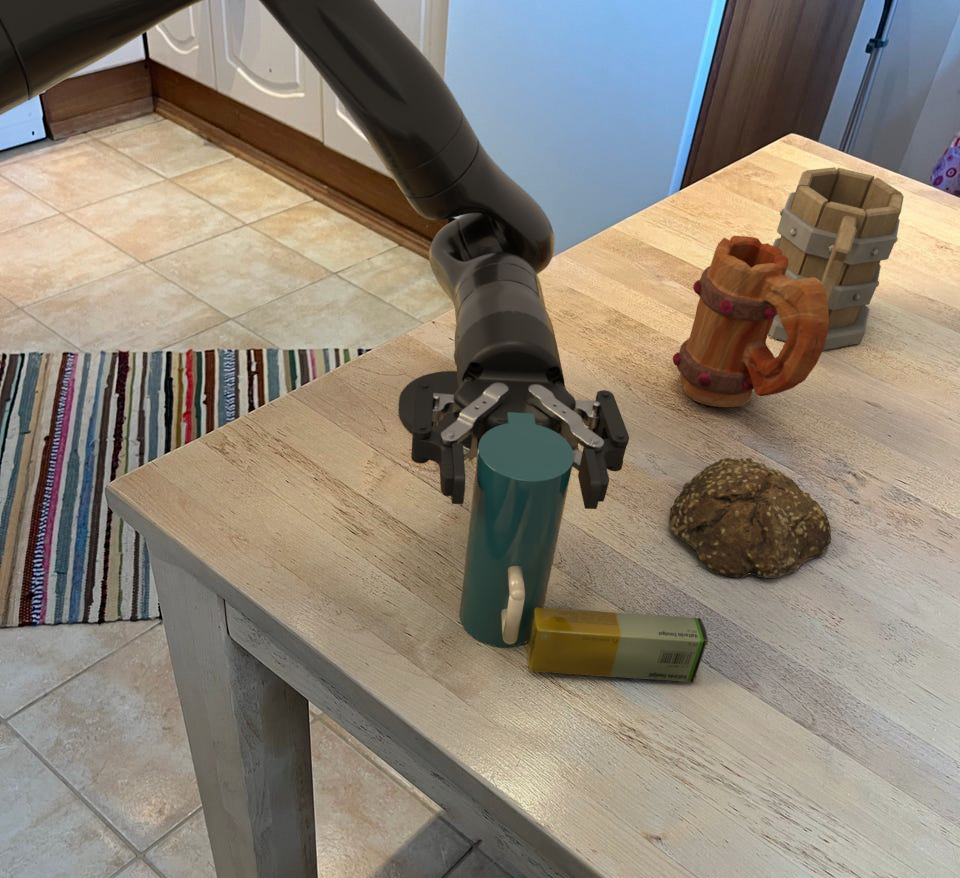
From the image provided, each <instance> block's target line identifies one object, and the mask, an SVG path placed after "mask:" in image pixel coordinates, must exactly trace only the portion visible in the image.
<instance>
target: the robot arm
mask: <svg viewBox="0 0 960 878" xmlns="http://www.w3.org/2000/svg"><path fill="white" fill-rule="evenodd" d="M203 1H204V0H0V116H2V115H4V114H6V113H7V112H9V111H11V110H14V109H15V108H18V107H19V106H21V105H23V104H24V103H26V102H27V101H31V100H33V99H34V98H36V97H38V96H40V95H41V94H43V93H44V92H46V91H47V90H49V89H51V88H53V87H54V86H56V85H58V84H59V83H62V82H63V81H64V80H67V79H68V78H70V77H72V76H74V75H76V74H77V73H79V72H80V71H82V70H84V69H86V68H88V67H90V66H91V65H94V64H95V63H97V62H98V61H100V60H103V59H104V58H105V57H107V56H109V55H111V54H112V53H114V52H116V51H117V50H119V49H121V48H122V47H124V46H125V45H127V44H129V43H131V42H132V41H134V40H135V39H137V38H139V37H140V36H142V35H143V34H145V33H146V32H148V31H150V30H151V29H153V28H154V27H156V26H157V25H159V24H160V23H162V22H163V21H165V20H167V19H169V18H171V17H172V16H174V15H176V14H178V13H180V12H181V11H184V10H186V9H188V8H190V7H192V6H194V5H196V4H198V3H201V2H203ZM258 1H259V2H260V3H261V5H262V6H263V7H264V8H265V10H266V11H268V13H269V14H270V15H271V16H272V17H273V18H274V19H275V21H276V22H277V23H278V25H279V26H280V27H281V28H282V29H283V30H284V32H285V33H286V34H287V35H288V36H289V38H290V39H291V41H293V42H294V44H295V45H296V47H297V48H298V49H299V50H300V51H301V52H302V54H303V55H304V56H305V57H306V58H307V60H308V61H309V62H310V63H311V65H312V66H313V67H314V69H315V70H316V71H317V73H318V74H319V75H320V76H321V78H322V79H323V80H324V82H325V83H326V84H327V86H328V87H329V88H330V90H331V91H332V92H333V93H334V95H335V96H336V98H337V99H338V100H339V102H340V103H341V104H342V106H343V107H344V108H345V110H346V111H347V113H348V114H349V115H350V117H351V118H352V119H353V121H354V122H355V125H357V127H358V128H359V130H360V131H361V133H362V134H363V136H364V137H365V138H366V140H367V142H368V143H369V144H370V147H372V149H373V151H374V152H375V153H376V155H377V157H378V159H379V160H380V162H381V163H382V164H383V166H384V167H385V169H386V171H387V172H388V173H389V175H390V176H391V178H392V180H393V181H394V182H395V184H396V185H397V186H398V189H399V190H400V191H401V193H402V194H403V196H404V197H405V199H406V200H407V202H408V203H409V205H410V206H411V207H412V208H413V209H414V210H415V212H416V213H417V214H418V215H420V216H421V217H423V218H424V219H426V220H431V221H444V220H449V219H453V218H456V219H454V220H452V221H450V222H449V223H447V224H445V225H444V226H443V227H441V228H440V229H439V230H438V231H437V232H436V234H435V235H434V237H433V238H432V240H431V243H430V245H429V250H428V258H429V264H430V268H431V271H432V273H433V275H434V277H435V279H436V281H437V283H438V284H439V286H440V287H441V289H442V291H443V292H444V293H445V294H446V295H447V297H448V299H450V301H451V302H452V303H453V306H454V314H455V315H454V316H455V330H454V351H453V352H454V353H453V359H454V365H455V366H456V371H457V380H458V390H457V391H456V392H455V394H442V393H433V392H434V386H433V384H432V383H430V382H426V381H422V382H419V383H417V384H416V392H415V405H414V418H413V434H411V435H412V436H411V438H412V439H411V451H410V453H411V454H410V458H411V461H413V462H414V463H416V464H419V465H421V464H426V463H428V462H429V461H432V462H434V463H436V464H437V465H438V467H439V484H440V492H441V494H442V495H443V496H444V497H451V505H464V501H465V492H466V491H465V490H466V465H465V461H467V460H470V461H474V459H475V458H477V453H478V445H479V441H480V439H481V437H482V436H483V435H484V434H485V433H486V432H487V431H489V430H490V429H492V428H494V427H496V426H499V425H502V424H506V418H507V413H508V412H516V413H533V414H534V416H535V423H536V425H540V426H543V427H546V428H548V429H551V430H553V431H555V432H556V433H558V434H559V435H561V436H562V437H563V438H565V439H566V441H567V442H568V443H569V444H570V446H571V448H572V450H573V454H574V460H573V465H572V468H574V469H575V470H576V471H578V474H577V477H578V482H579V487H580V492H581V497H582V502H583V507H584V509H585V510H597V508H598V506H599V503H600V502H601V503H604V502H605V499H606V496H607V492H608V487H609V483H610V477H609V476H610V475H609V472H608V471H611V472H620V471H621V470H622V469H623V466H624V459H625V455H626V450H627V447H628V445H629V442H630V435H629V433H628V432H629V431H628V429H627V427H626V425H625V422H624V418H623V415H622V414H621V411H620V407H619V405H618V403H617V400H616V397H615V394H614V393H612V392H611V391H610V390H604V389H602V390H598V391H597V392H596V395H595V400H594V399H575V397H574V396H573V394H571V393H570V392H569V391H568V390H567V388H566V383H565V382H566V381H565V376H564V371H563V366H562V362H561V358H560V353H559V349H558V344H557V343H558V342H557V339H556V334H555V329H554V326H553V321H552V320H551V317H550V315H549V313H548V311H547V308H546V303H545V297H544V293H543V287H542V285H541V284H542V283H541V280H540V278H539V276H538V275H539V274H540V273H542V272H543V271H544V270H546V269H547V268H548V266H549V265H550V264H551V262H552V260H553V256H554V253H555V245H556V244H555V243H556V240H555V239H556V238H555V233H554V230H553V226H552V224H551V221H550V220H549V219H550V218H549V217H548V215H547V214H546V213H545V211H544V210H543V208H542V207H541V206H540V205H539V203H538V202H537V201H536V200H535V199H534V198H533V197H532V196H531V195H530V194H529V193H528V192H527V190H525V189H524V188H522V187H521V186H520V185H519V184H518V183H517V182H516V181H515V180H513V179H512V178H511V177H510V176H509V175H508V174H507V173H506V172H505V171H504V170H503V169H502V168H500V166H499V165H498V164H497V163H496V162H495V161H494V159H492V157H491V156H490V155H489V153H488V152H487V151H486V149H485V148H484V146H483V145H482V143H481V142H480V140H479V138H478V136H477V134H476V133H475V131H474V129H473V127H472V125H471V124H470V121H469V120H468V119H467V118H468V117H467V116H466V115H465V113H464V111H463V109H462V108H461V106H460V104H459V103H458V101H457V99H456V97H455V96H454V94H453V92H452V91H451V89H450V87H449V86H448V84H447V83H446V81H445V80H444V79H443V77H442V75H440V73H439V72H438V71H437V69H436V68H435V67H434V65H433V64H432V63H431V62H430V60H429V59H428V58H427V57H426V56H425V55H424V54H423V52H421V50H420V49H419V48H418V47H417V46H416V44H414V42H413V41H412V40H411V39H410V38H409V37H408V36H407V35H406V34H405V33H404V32H403V30H401V29H400V27H399V26H398V25H397V24H396V23H395V22H394V20H393V19H391V18H390V16H389V15H388V14H387V12H385V11H384V10H383V9H382V7H381V6H380V5H379V4H378V3H377V2H376V1H375V0H258ZM458 217H459V218H458ZM448 413H453V416H454V417H455V419H456V421H455V422H454V423H453V424H451V425H450V426H449V427H448V428H446V429H445V430H444V431H442V433H438V432H434V431H431V428H432V427H437V426H438V421H441V420H442V419H443V418H444V416H445V415H446V414H448ZM579 445H580V446H581V447H583V448H582V451H581V450H580V448H579Z"/></svg>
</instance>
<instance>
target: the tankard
mask: <svg viewBox="0 0 960 878" xmlns="http://www.w3.org/2000/svg"><path fill="white" fill-rule="evenodd" d="M903 203H904V194H903V193H902V192H901V191H900V190H898V189H896V188H895V187H893V186H892V185H890V184H888V183H887V182H885V180H882V178H879V177H875V175H871V174H868V173H864V172H859V171H854V170H850V169H846V168H843V167H837V168H836V167H834V166H833V167H824V168H816V169H806V170H805V171H803V172H802V173H801V175H800V178H799V180H798V183H797V186H796V189H795V191H793V192H790V193H789V195H788V197H787V200H786V202H785V206H784V208H781V209H780V211H779V216H780V219H779V223H778V226H777V229H776V232H777V233H778V235H780V237H779V238H775V239H774V241H773V244H772V246H776V247H778V248H779V249H780V250H781V251H782V255H785V256H786V257H787V258H788V267H787V270H786V274H785V276H786V277H788V278H790V279H792V280H794V281H795V280H800V279H803V278H811V277H815V278H817V279H818V280H819V281H820V282H821V283H822V284H823V286H824V288H825V290H826V296H827V303H828V313H829V324H828V334H827V337H826V341H825V346H824V349H823V351H829V350H832V349H839V348H844V347H849V346H853V344H855V345H859V344H861V342H862V340H863V338H864V336H865V333H866V329H867V324H868V319H869V314H870V308H869V307H868V305H870V304H871V301H872V298H873V295H874V294H875V292H876V289H877V288H878V287H879V286H880V281H879V277H880V272H881V267H882V266H881V261H887V260H889V259H890V258H889V257H890V255H891V253H892V251H893V248H894V246H895V244H896V243H897V242H898V232H899V227H900V223H901V222H900V221H901V219H900V215H901V213H902V208H903ZM768 336H770V337H771V338H772V339H774V340H778V341H781V342H784V343H785V342H786V340H787V334H786V331H785V329H784V327H783V325H782V323H781V320H780V318H779V315H778V314H777V315H776V316H775V317H774V320H773V323H772V326H771V328H770V331H769V333H768ZM848 345H849V346H848ZM843 346H844V347H843ZM838 347H839V348H838Z"/></svg>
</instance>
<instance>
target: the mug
mask: <svg viewBox="0 0 960 878" xmlns="http://www.w3.org/2000/svg"><path fill="white" fill-rule="evenodd" d="M787 267H788V258H787V257H786V256H785V255H782V251H781V250H780V249H779V248H778V247H776V246H773V244H770V243H768V242H767V243H762V242H761V241H760V239H759V238H757V237H753V236H747V235H746V236H744V235H733V236H731V237H730V239H728V238H726V237H723V238H722V239H721V240H720V241H719V242H718V243H717V245H716V247H715V251H714V253H713V256H712V260H711V263H710V265H709V266H707V267H706V268H705V269H704V270H703V272H702V273H701V276H700V279H697V280H696V281H694V283H693V285H692V289H693V292H694V293H695V294H696V295H698V296H699V299H698V302H697V305H696V310H695V315H694V319H693V324H692V327H691V331H690V334H689V337H688V338H687V339H686V340H684V341H683V342H682V344H681V345H680V348H679V351H678V352H676V353H674V354H673V356H672V362H673V365H674V366H676V368H677V370H678V372H679V376H678V377H679V380H678V381H679V384H680V385H681V388H682V390H683V391H684V393H685V394H686V396H687V397H689V398H691V399H692V400H693V401H694V402H697V403H700V404H701V405H706V406H709V407H716V408H722V407H723V408H733V407H740V406H743V405H745V404H747V403H748V402H749V401H750V400H751V398H752V396H753V392H754V393H755V394H756V396H758V397H760V398H761V397H767V396H773V395H777V394H781V393H784V392H786V391H789V390H792V389H794V388H795V387H796V386H798V385H799V384H801V383H803V382H804V381H806V380H807V378H808V377H809V375H810V374H811V373H812V371H813V369H814V368H815V367H816V366H817V364H818V361H819V359H820V357H821V355H822V353H823V351H824V350H823V349H824V346H825V341H826V337H827V334H828V324H829V313H828V303H827V296H826V290H825V288H824V286H823V284H822V283H821V282H820V281H819V280H818V279H817V278H815V277H811V278H803V279H800V280H795V281H794V280H792V279H790V278H788V277H786V276H785V274H786V270H787ZM777 314H778V315H779V318H780V320H781V323H782V325H783V327H784V329H785V331H786V334H787V340H786V342H785V341H784V344H783V346H782V347H781V350H780V352H779V353H778V355H777V356H776V357H775V356H774V354H773V353H772V351H771V350H770V348H769V346H768V345H767V344H766V343H767V339H768V336H769V334H768V333H769V331H770V328H771V326H772V323H773V320H774V317H775V316H776V315H777Z"/></svg>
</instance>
